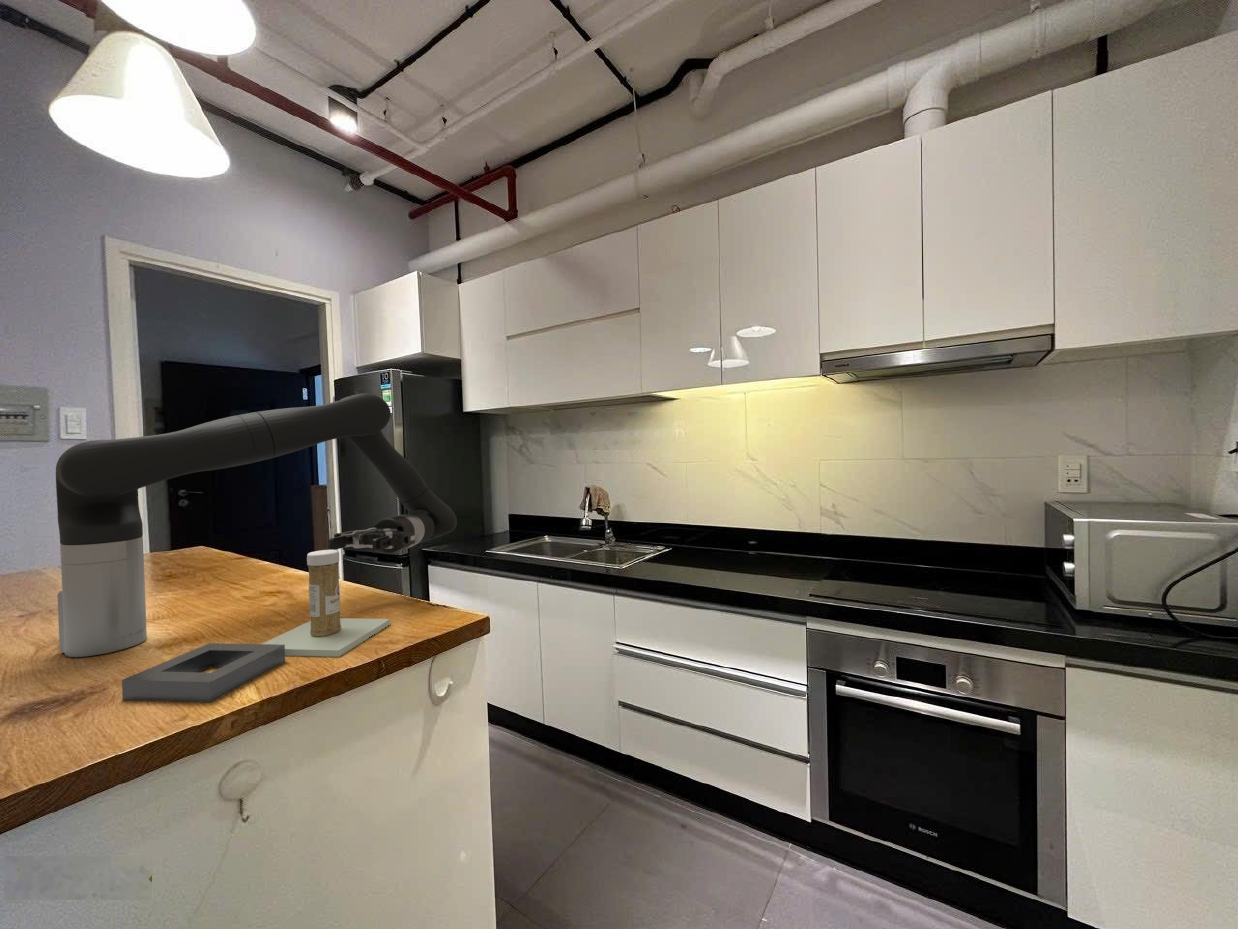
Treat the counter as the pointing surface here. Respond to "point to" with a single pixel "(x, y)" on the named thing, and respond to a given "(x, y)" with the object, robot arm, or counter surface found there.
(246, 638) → the counter surface
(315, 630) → the sprinkles bottle
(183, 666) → the metal socket
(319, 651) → the sage board
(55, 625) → the counter surface
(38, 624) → the counter surface
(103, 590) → the robot arm
